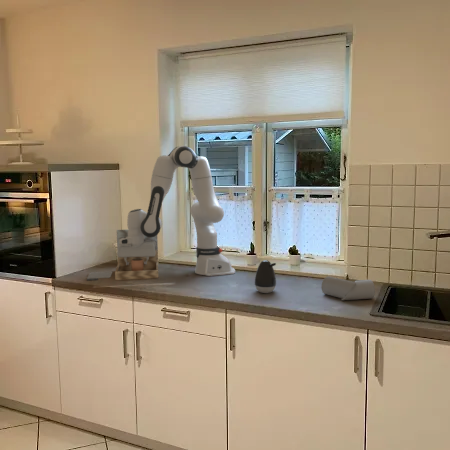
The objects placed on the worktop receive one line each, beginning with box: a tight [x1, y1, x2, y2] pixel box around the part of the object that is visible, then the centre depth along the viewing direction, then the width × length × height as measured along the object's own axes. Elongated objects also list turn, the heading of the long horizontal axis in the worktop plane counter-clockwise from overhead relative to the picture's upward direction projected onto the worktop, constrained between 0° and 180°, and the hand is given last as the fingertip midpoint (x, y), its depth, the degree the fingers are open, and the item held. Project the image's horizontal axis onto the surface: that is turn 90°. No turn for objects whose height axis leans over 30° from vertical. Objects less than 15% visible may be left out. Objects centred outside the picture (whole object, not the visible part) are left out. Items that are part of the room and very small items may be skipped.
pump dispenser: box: [254, 259, 277, 294], centre depth 222 cm, size 10×10×15 cm
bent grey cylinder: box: [321, 275, 376, 302], centre depth 213 cm, size 18×11×20 cm
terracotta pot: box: [131, 258, 144, 271], centre depth 254 cm, size 6×6×8 cm
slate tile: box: [86, 270, 113, 281], centre depth 254 cm, size 12×14×1 cm
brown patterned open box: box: [114, 229, 159, 281], centre depth 253 cm, size 22×20×24 cm
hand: (136, 264), depth 253 cm, fingers open, 8 cm apart
